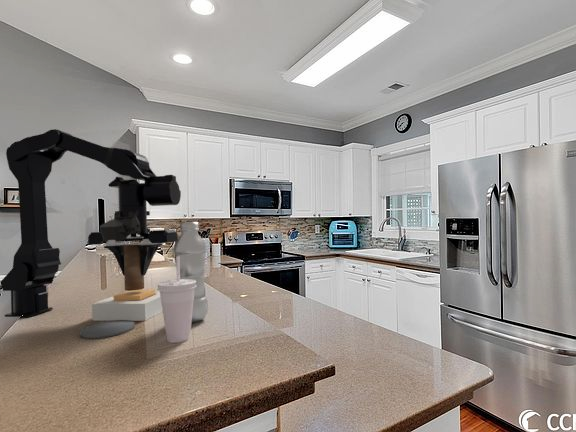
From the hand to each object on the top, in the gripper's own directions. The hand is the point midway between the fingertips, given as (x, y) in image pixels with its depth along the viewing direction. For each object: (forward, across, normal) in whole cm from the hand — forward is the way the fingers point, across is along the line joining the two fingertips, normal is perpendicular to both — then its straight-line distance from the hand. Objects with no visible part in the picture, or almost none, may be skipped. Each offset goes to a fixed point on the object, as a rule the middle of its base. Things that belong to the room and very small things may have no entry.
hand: (134, 275), depth 74 cm
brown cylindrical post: (+3, 0, 0) cm, 3 cm away
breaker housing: (+8, 0, 0) cm, 8 cm away
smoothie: (+9, +18, -16) cm, 26 cm away
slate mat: (+8, +2, -12) cm, 15 cm away
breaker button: (+5, 0, 0) cm, 5 cm away
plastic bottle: (+9, +16, -6) cm, 19 cm away
